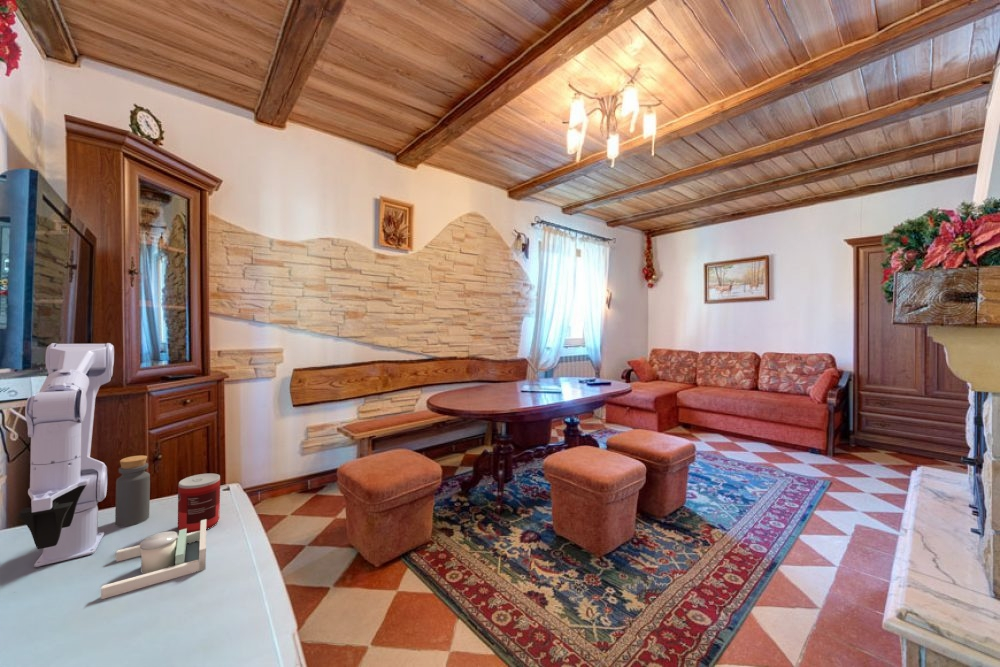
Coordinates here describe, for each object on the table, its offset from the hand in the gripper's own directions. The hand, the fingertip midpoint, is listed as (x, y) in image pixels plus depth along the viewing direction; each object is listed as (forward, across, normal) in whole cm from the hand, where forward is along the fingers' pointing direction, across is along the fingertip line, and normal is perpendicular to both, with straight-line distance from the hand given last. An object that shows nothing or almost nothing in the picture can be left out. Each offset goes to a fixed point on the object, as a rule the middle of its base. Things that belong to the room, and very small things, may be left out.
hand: (54, 536), depth 66 cm
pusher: (+9, -1, -17) cm, 20 cm away
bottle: (+10, +25, -7) cm, 28 cm away
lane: (+9, -1, -14) cm, 17 cm away
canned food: (+10, +13, -20) cm, 25 cm away
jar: (+10, -1, -14) cm, 17 cm away
